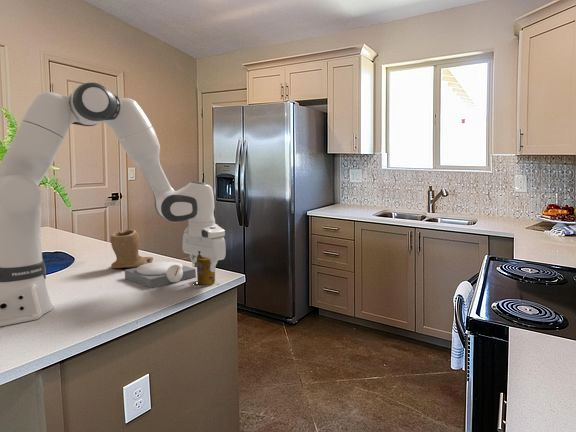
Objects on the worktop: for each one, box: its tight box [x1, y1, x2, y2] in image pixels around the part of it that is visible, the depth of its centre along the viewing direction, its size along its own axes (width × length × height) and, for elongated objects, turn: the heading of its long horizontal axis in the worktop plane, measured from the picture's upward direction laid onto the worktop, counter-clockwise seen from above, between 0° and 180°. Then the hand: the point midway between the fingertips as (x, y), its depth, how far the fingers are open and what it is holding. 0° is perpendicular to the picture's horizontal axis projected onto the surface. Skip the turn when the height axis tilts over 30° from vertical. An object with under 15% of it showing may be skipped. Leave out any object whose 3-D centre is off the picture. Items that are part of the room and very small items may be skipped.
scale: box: [124, 260, 197, 289], centre depth 158 cm, size 18×19×6 cm
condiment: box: [188, 251, 220, 288], centre depth 150 cm, size 7×8×12 cm
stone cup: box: [109, 229, 154, 269], centre depth 173 cm, size 15×12×15 cm
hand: (203, 269), depth 150 cm, fingers open, 8 cm apart
